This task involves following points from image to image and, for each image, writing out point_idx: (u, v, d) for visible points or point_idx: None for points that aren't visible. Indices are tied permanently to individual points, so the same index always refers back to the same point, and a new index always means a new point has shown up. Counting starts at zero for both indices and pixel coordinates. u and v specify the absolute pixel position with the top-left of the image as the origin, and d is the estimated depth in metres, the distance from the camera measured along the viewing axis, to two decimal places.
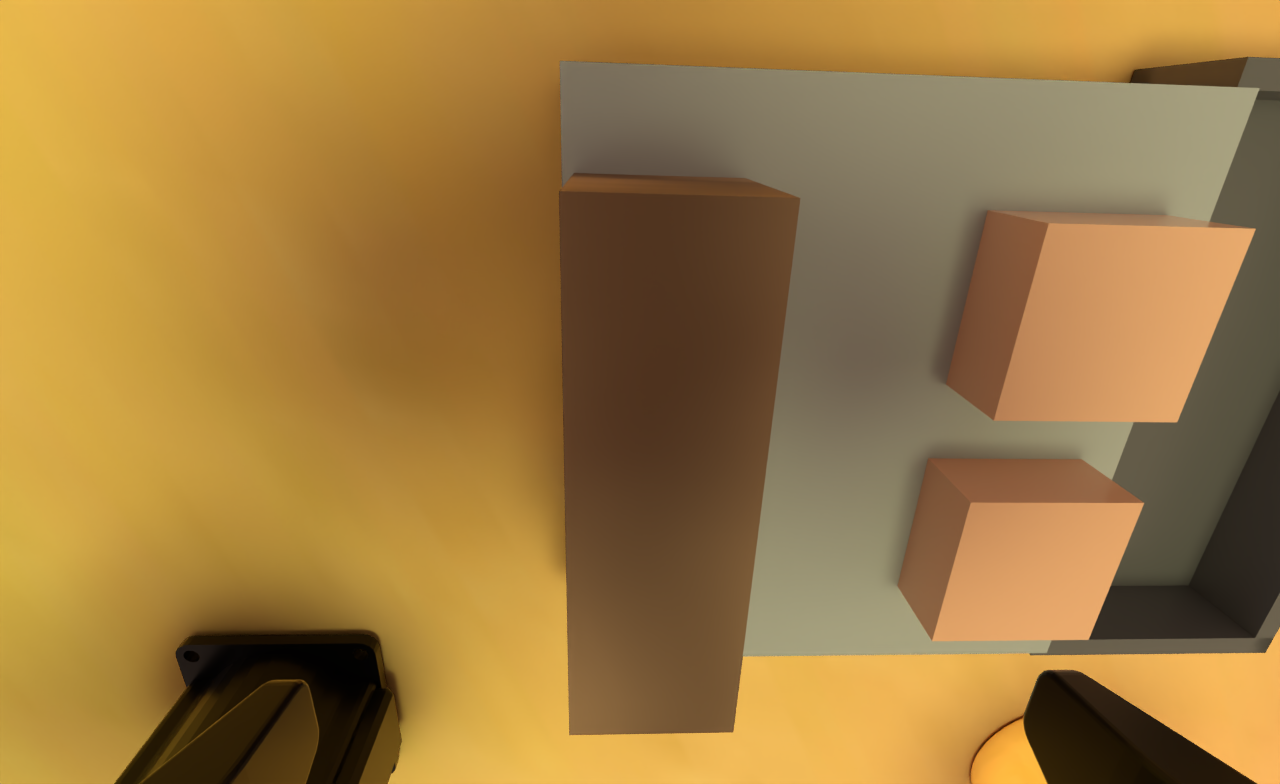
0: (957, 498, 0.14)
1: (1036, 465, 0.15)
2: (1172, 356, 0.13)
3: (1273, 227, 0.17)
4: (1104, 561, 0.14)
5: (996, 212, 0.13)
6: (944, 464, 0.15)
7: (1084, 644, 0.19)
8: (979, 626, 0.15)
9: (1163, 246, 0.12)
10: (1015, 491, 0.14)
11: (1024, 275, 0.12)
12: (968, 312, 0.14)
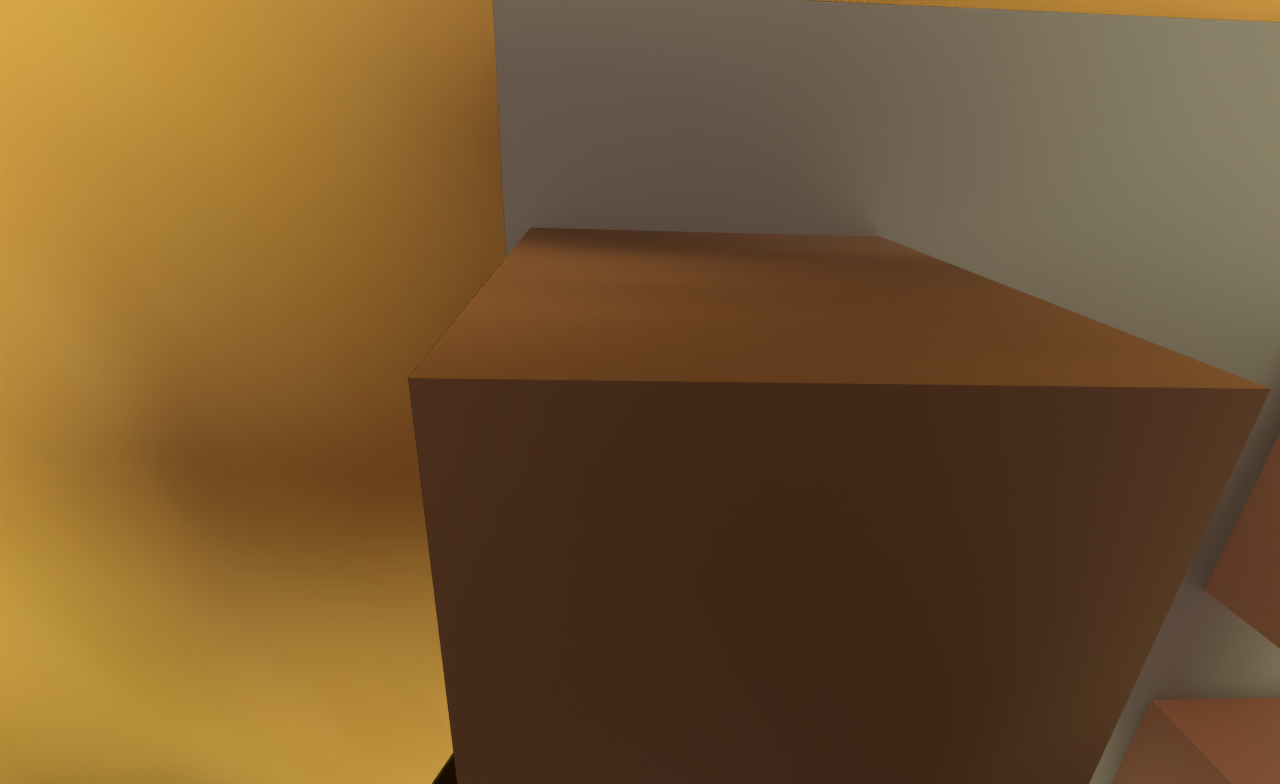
0: None
1: None
2: None
3: None
4: None
5: None
6: (1187, 717, 0.09)
7: None
8: None
9: None
10: None
11: None
12: (1277, 479, 0.07)
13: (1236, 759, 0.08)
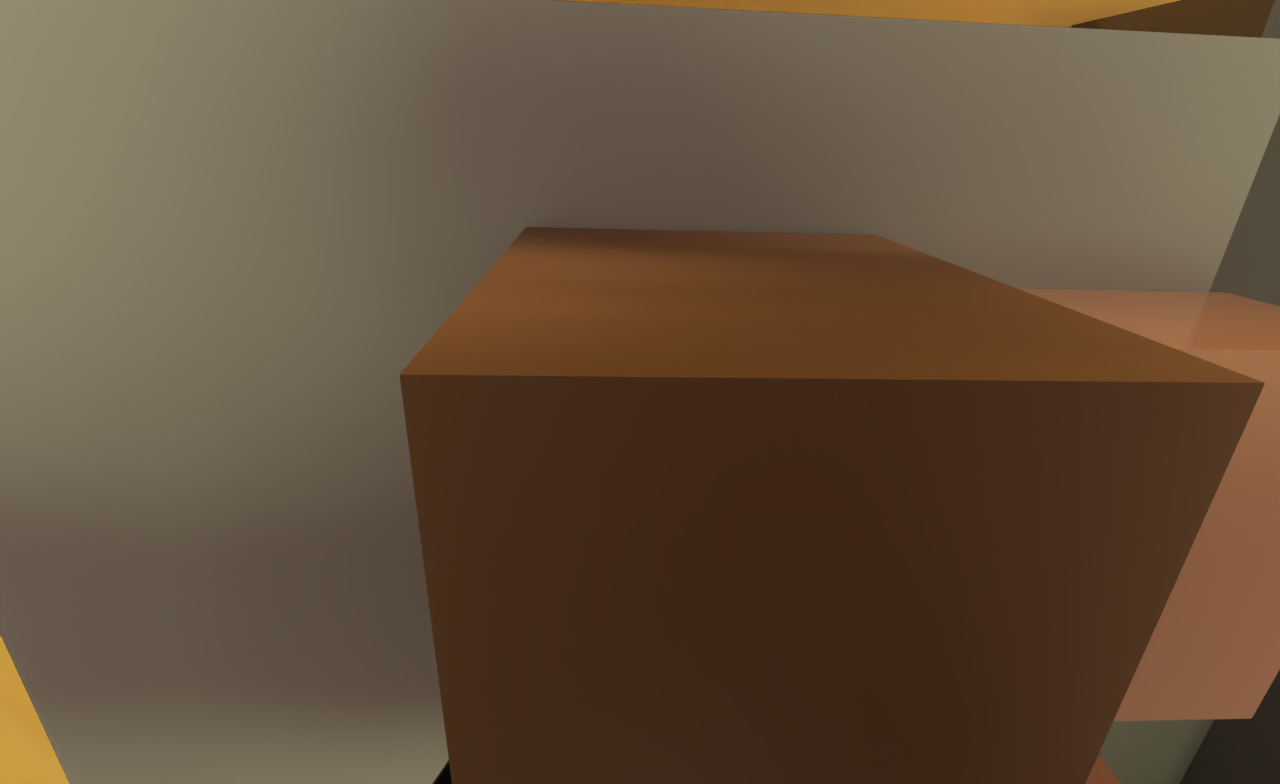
0: None
1: None
2: (1249, 607, 0.06)
3: None
4: None
5: None
6: None
7: None
8: None
9: None
10: None
11: None
12: None
13: None
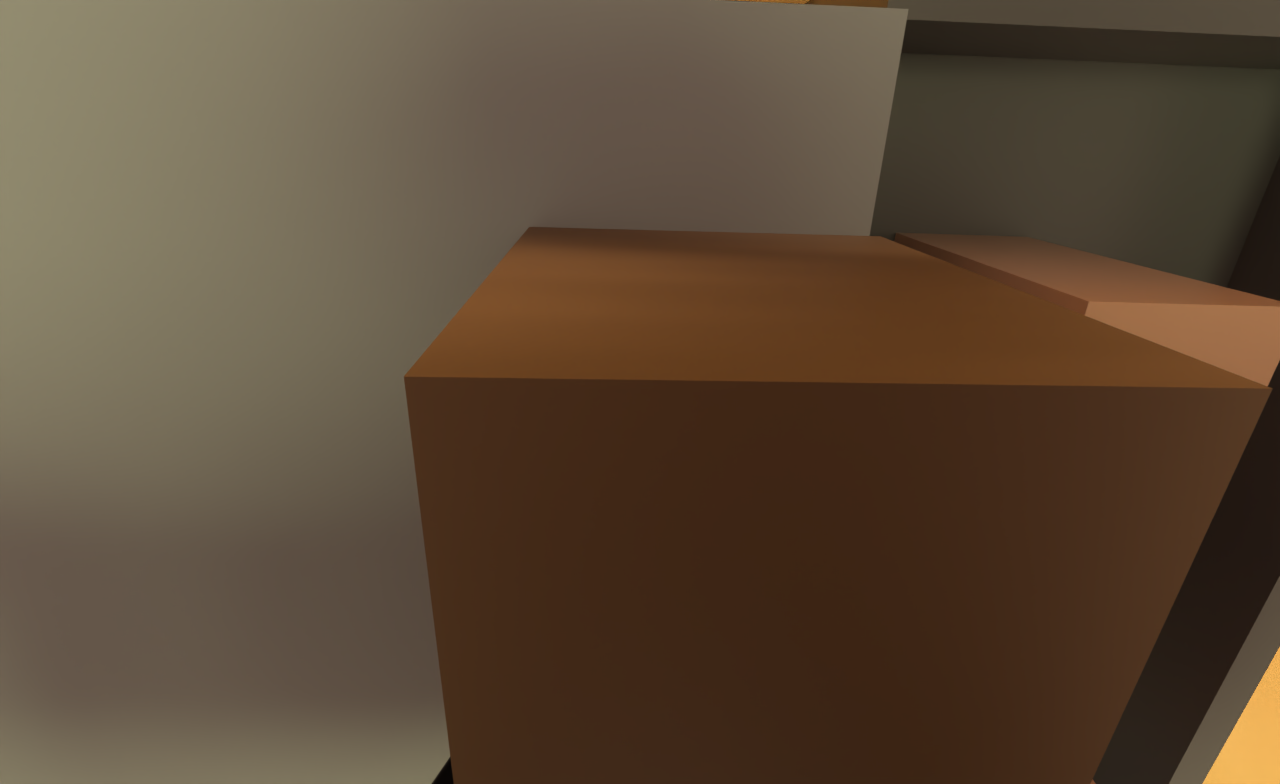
0: None
1: None
2: None
3: None
4: None
5: (1117, 303, 0.05)
6: None
7: None
8: None
9: None
10: None
11: None
12: None
13: None
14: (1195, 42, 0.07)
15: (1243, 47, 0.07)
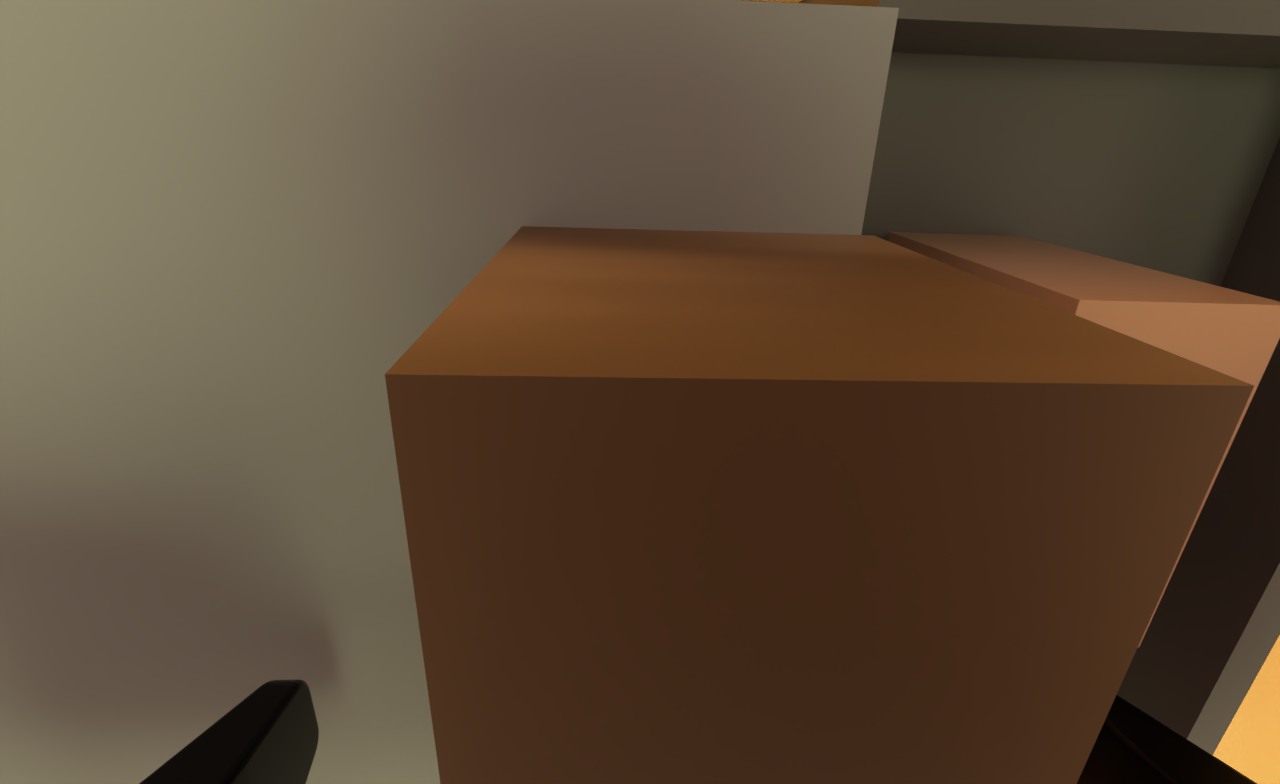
0: None
1: None
2: None
3: None
4: None
5: (1107, 301, 0.05)
6: None
7: None
8: None
9: None
10: None
11: None
12: None
13: None
14: (1186, 41, 0.07)
15: (1235, 46, 0.07)
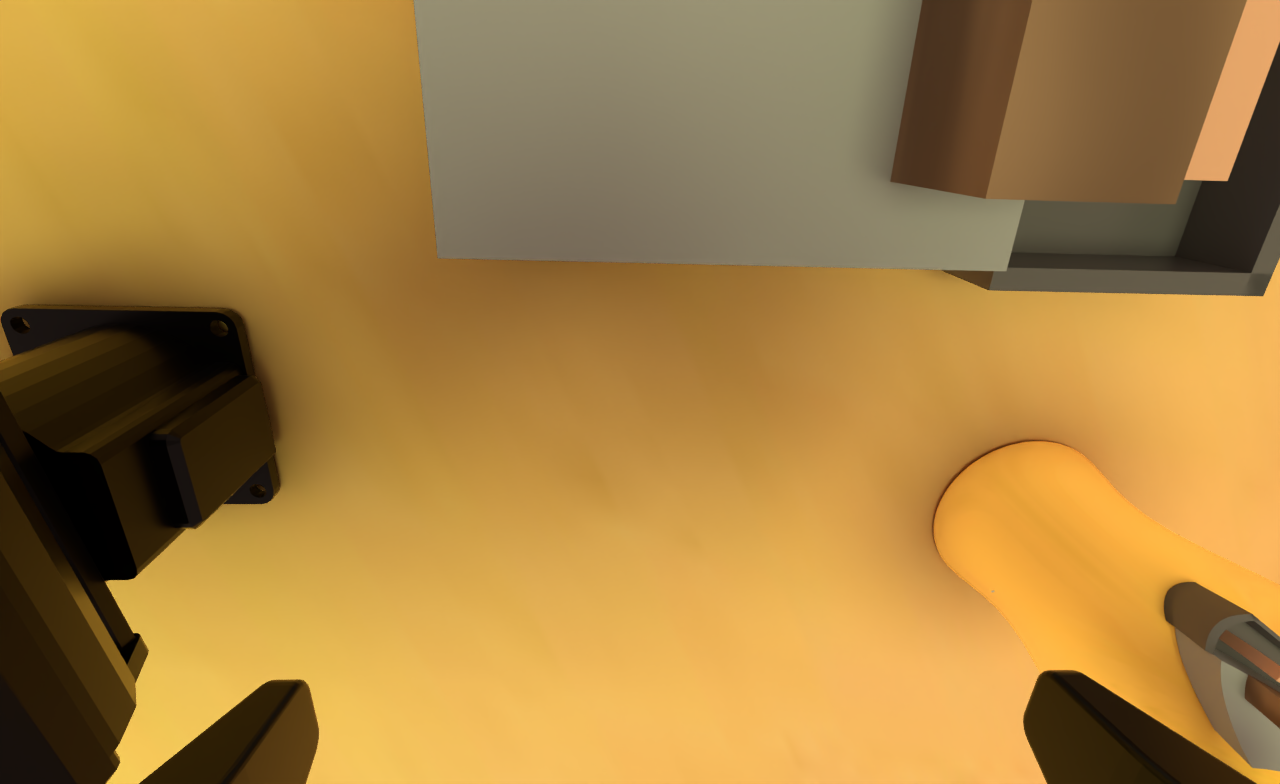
0: None
1: None
2: None
3: None
4: None
5: None
6: None
7: (1052, 275, 0.16)
8: None
9: None
10: None
11: None
12: None
13: None
14: None
15: None
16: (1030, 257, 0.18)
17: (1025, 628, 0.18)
